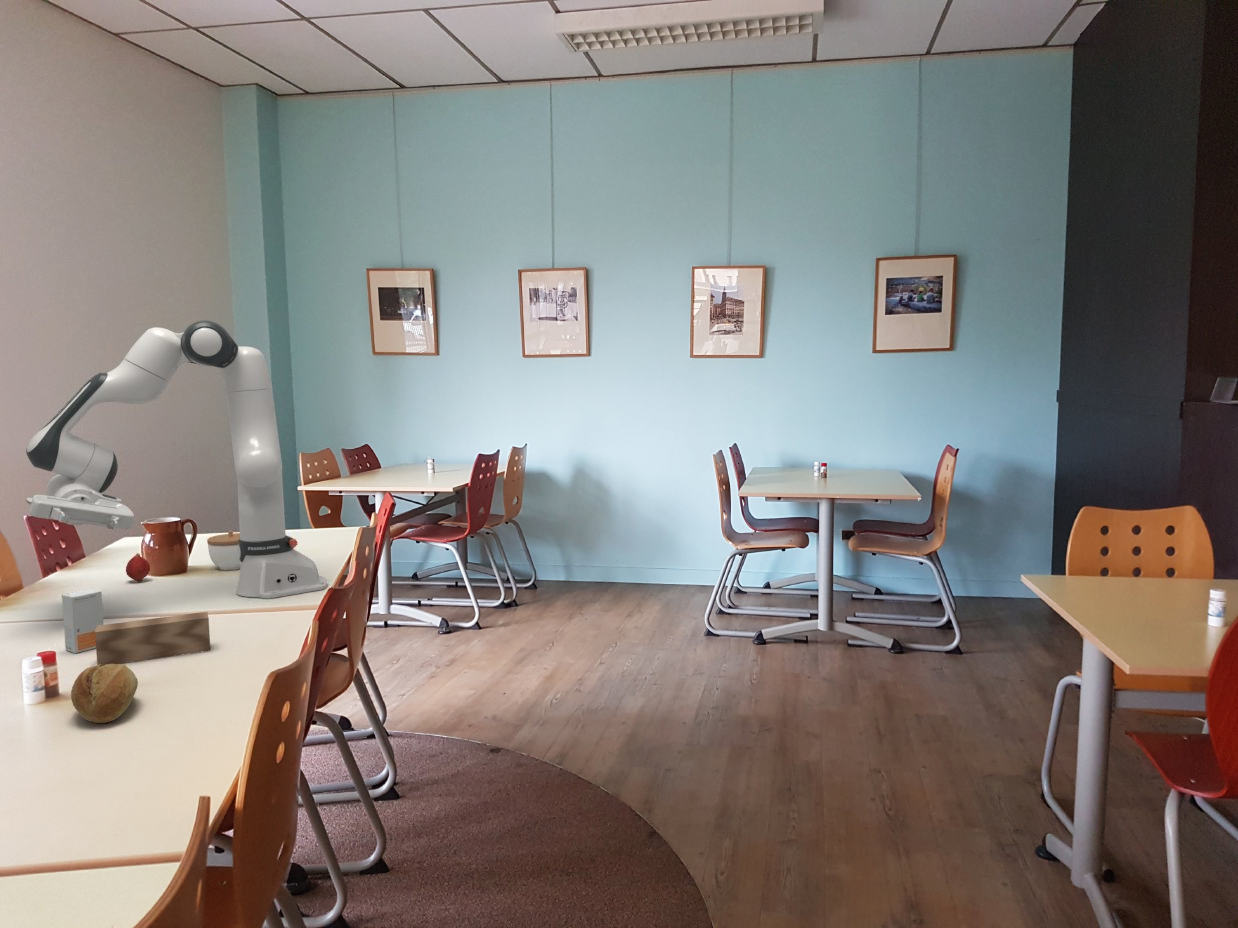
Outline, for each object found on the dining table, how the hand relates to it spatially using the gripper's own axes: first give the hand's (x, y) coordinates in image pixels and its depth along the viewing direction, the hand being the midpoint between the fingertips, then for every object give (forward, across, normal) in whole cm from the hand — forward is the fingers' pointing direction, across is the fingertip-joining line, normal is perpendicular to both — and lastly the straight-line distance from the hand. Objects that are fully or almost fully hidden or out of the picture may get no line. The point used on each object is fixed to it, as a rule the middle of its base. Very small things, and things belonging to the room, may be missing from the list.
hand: (89, 522), depth 185 cm
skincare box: (+16, +2, +23) cm, 28 cm away
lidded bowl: (-40, +50, +18) cm, 66 cm away
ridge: (+31, +11, +18) cm, 37 cm away
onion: (-39, +26, +25) cm, 54 cm away
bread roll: (+57, -4, +18) cm, 60 cm away
